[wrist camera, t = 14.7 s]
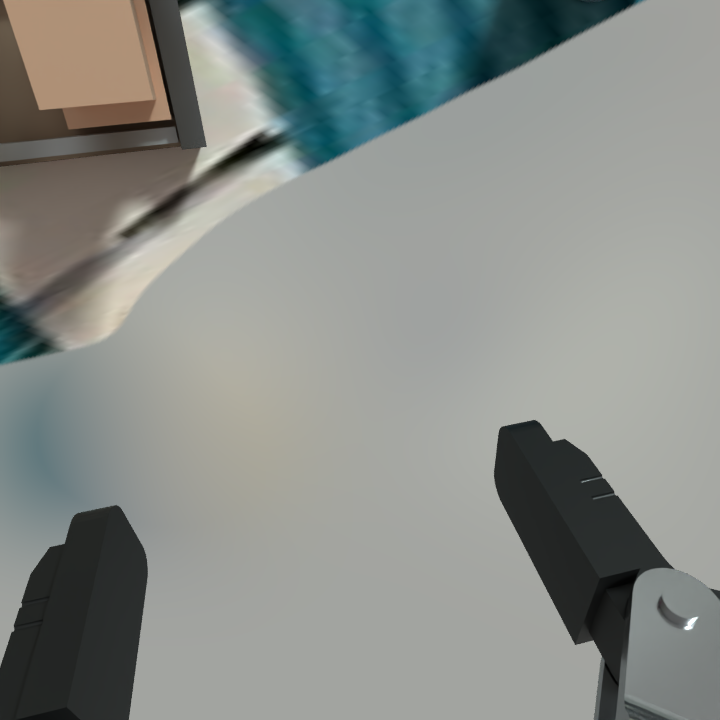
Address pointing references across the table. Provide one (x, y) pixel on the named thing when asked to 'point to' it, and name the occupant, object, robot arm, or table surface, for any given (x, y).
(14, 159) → the track
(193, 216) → the table surface
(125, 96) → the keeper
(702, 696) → the robot arm
